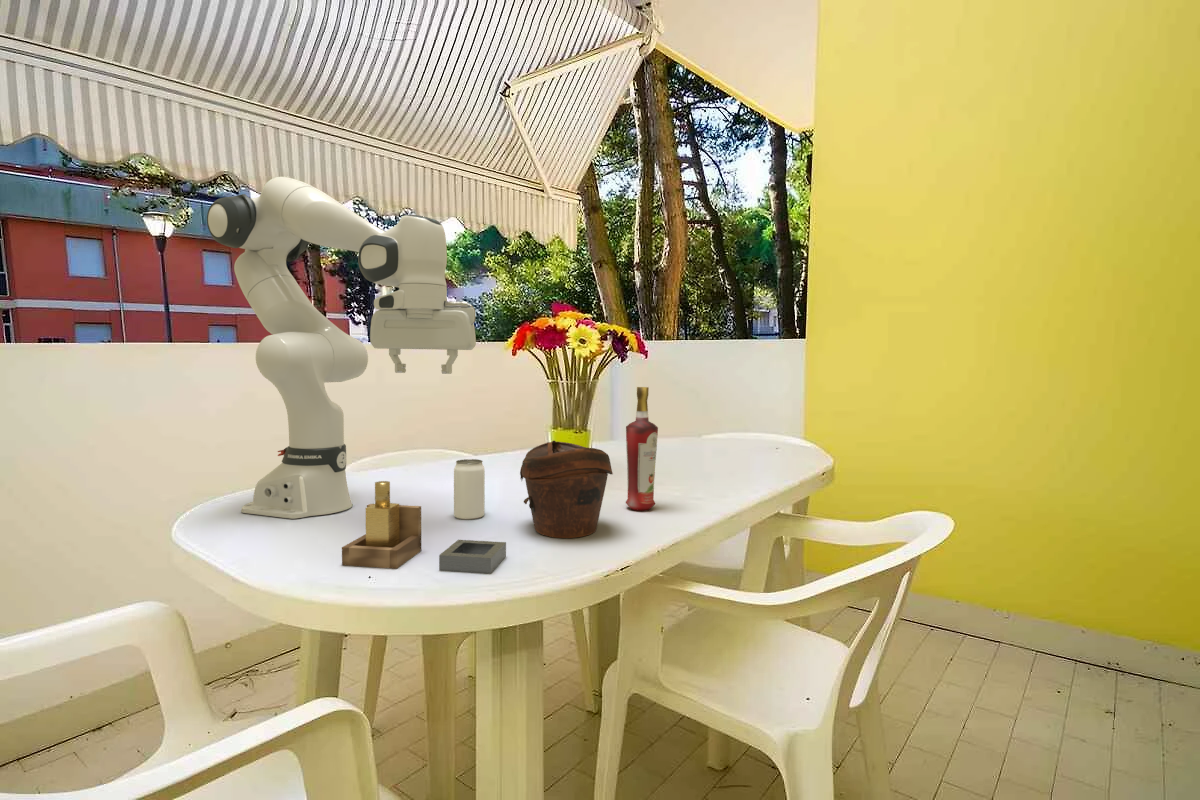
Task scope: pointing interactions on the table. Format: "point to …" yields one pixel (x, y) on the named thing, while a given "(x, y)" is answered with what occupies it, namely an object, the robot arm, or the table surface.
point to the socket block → (472, 556)
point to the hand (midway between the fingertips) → (423, 373)
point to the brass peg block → (382, 519)
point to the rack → (384, 556)
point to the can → (469, 489)
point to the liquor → (641, 456)
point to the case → (565, 488)
